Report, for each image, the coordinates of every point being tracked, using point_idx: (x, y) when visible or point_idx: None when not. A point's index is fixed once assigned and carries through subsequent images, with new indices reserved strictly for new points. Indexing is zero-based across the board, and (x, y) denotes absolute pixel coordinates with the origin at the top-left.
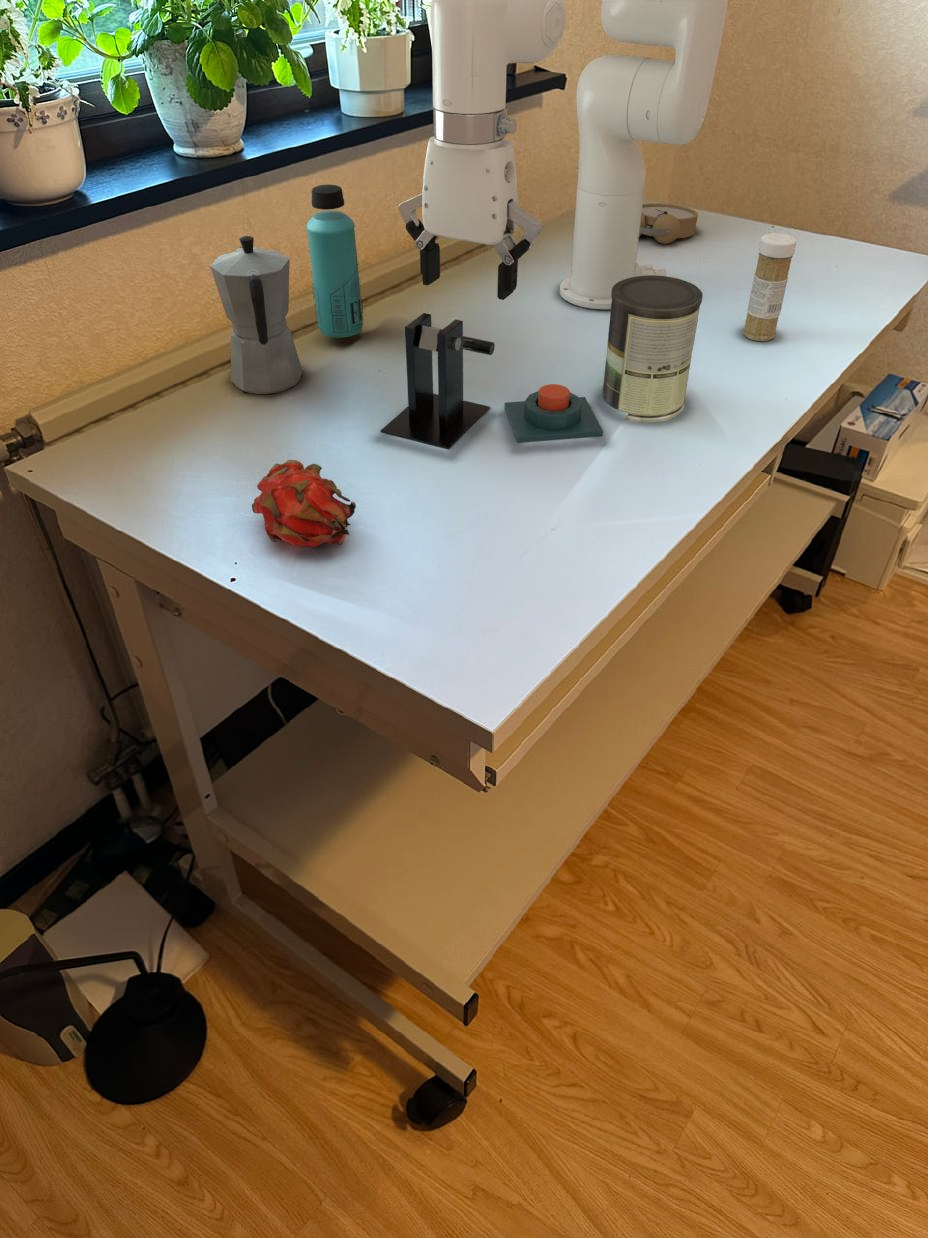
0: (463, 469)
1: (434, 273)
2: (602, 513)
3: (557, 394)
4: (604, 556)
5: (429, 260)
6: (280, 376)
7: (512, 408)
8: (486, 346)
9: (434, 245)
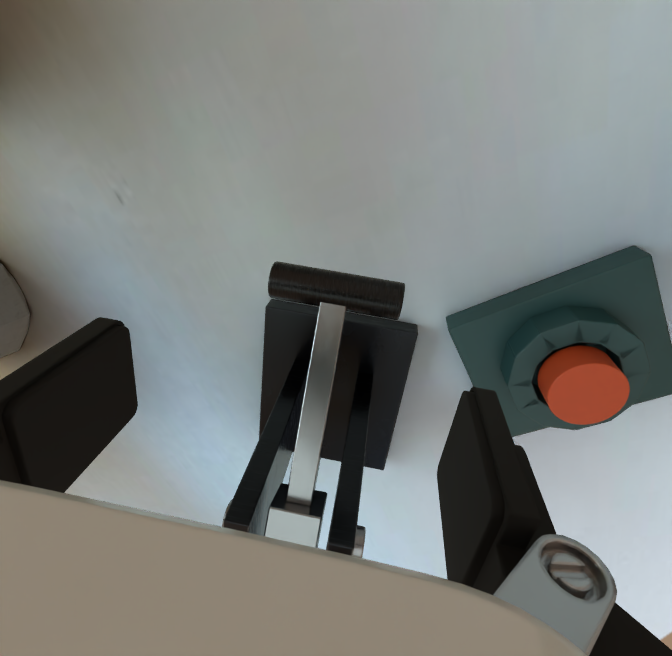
0: (415, 480)
1: (114, 387)
2: (644, 540)
3: (596, 409)
4: (638, 603)
5: (71, 472)
6: (2, 342)
7: (470, 350)
8: (386, 317)
9: (3, 451)
